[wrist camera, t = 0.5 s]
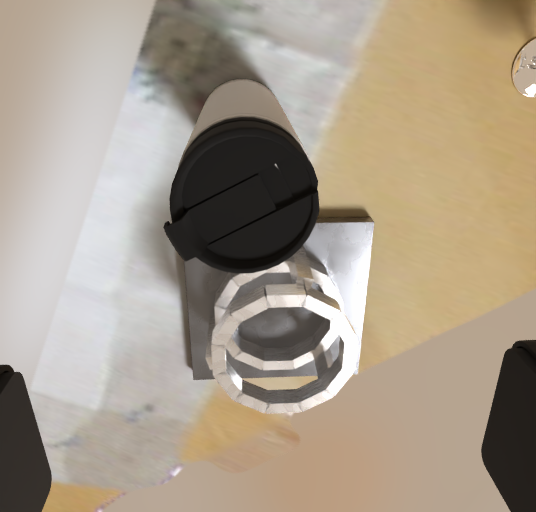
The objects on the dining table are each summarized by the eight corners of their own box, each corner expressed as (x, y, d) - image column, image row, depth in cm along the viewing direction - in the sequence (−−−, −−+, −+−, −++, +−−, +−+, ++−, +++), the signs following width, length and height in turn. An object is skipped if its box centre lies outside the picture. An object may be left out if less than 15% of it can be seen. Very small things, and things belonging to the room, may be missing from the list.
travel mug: (182, 104, 36) (127, 180, 18) (260, 63, 35) (285, 99, 17) (222, 176, 39) (208, 305, 21) (295, 139, 38) (349, 241, 20)
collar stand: (182, 220, 40) (169, 266, 32) (370, 216, 41) (401, 261, 33) (194, 371, 47) (185, 439, 39) (354, 366, 48) (377, 431, 40)
